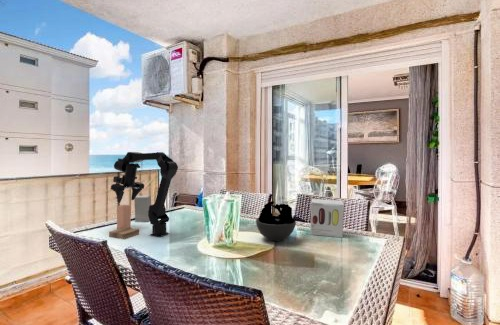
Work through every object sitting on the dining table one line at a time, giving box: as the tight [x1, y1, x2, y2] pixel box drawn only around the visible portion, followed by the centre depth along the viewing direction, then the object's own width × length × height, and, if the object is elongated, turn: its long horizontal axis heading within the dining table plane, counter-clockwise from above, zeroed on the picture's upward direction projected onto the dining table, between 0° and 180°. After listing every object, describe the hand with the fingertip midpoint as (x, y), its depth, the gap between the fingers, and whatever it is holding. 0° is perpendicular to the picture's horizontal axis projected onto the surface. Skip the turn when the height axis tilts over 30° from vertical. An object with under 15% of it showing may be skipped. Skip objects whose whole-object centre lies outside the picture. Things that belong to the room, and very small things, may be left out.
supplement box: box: [309, 198, 345, 238], centre depth 157 cm, size 17×13×18 cm
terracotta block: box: [116, 204, 132, 230], centre depth 158 cm, size 5×5×13 cm
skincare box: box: [133, 195, 152, 223], centre depth 177 cm, size 8×7×16 cm
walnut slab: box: [108, 227, 140, 240], centre depth 145 cm, size 10×10×3 cm
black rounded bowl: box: [255, 200, 297, 242], centre depth 142 cm, size 20×20×19 cm
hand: (125, 201), depth 157 cm, fingers open, 9 cm apart
